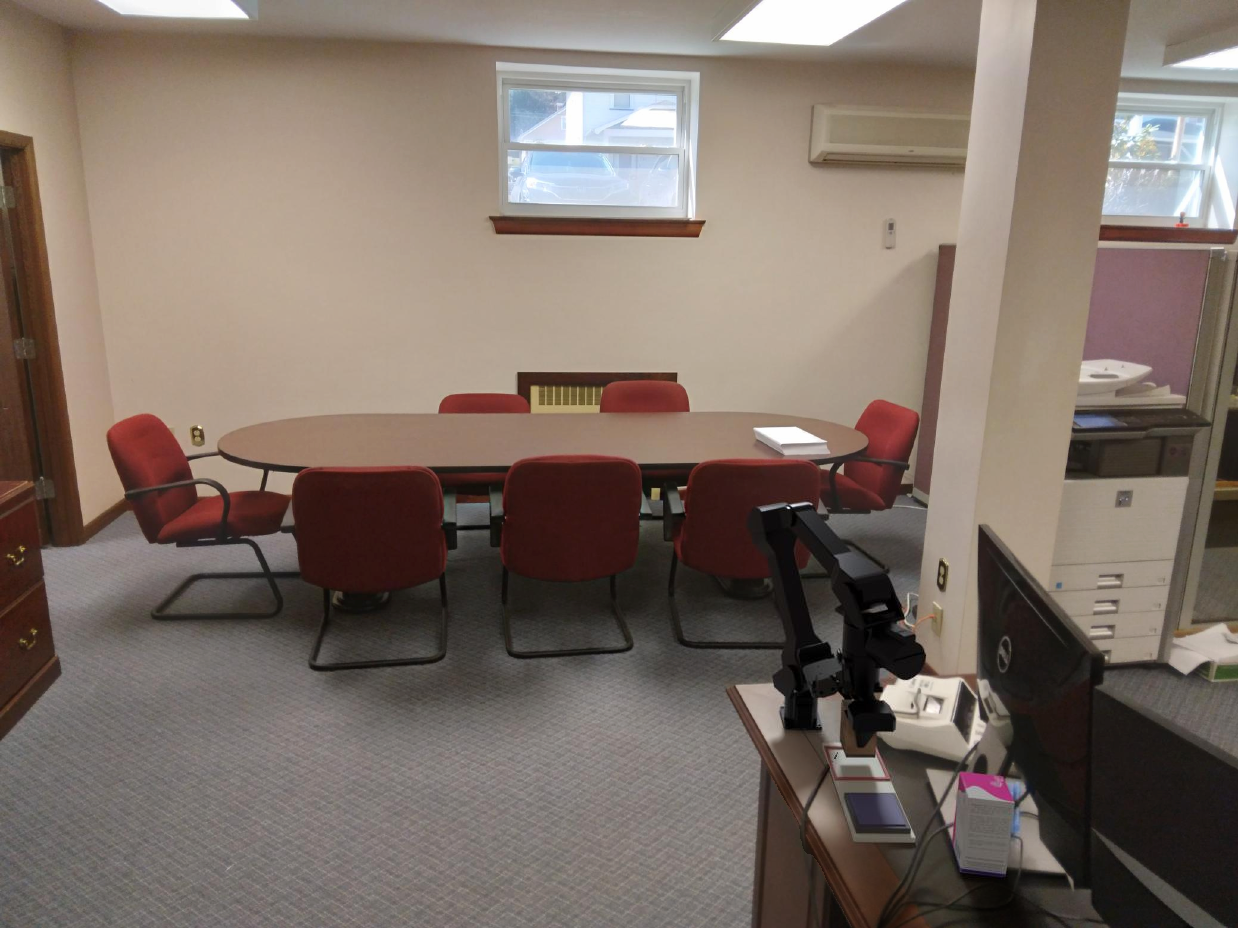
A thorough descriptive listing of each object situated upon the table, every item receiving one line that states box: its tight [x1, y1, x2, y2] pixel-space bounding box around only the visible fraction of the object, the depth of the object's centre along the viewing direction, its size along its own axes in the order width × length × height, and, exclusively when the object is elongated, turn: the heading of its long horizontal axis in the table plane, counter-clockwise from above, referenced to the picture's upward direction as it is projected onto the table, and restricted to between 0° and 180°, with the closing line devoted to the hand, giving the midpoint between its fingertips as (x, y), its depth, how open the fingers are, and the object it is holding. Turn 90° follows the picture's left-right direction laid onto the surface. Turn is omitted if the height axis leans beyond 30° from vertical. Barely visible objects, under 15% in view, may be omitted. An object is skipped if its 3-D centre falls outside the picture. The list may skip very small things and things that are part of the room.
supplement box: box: [951, 771, 1016, 878], centre depth 104 cm, size 6×6×12 cm
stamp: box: [839, 699, 878, 758], centre depth 123 cm, size 4×4×7 cm
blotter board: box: [821, 742, 917, 844], centre depth 119 cm, size 22×8×2 cm, turn 177°
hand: (856, 737), depth 124 cm, fingers closed on stamp, 4 cm apart
